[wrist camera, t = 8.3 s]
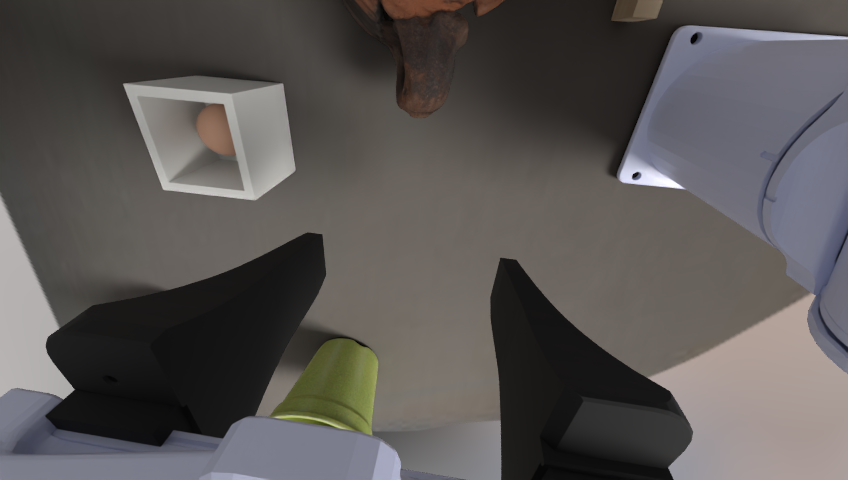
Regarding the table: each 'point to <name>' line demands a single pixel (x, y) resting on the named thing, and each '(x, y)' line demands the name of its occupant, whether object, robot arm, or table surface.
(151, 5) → the table surface
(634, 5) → the birch bay
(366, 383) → the plant pot
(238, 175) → the white square open box
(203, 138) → the terracotta bead
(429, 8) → the brown hollow curved piece
